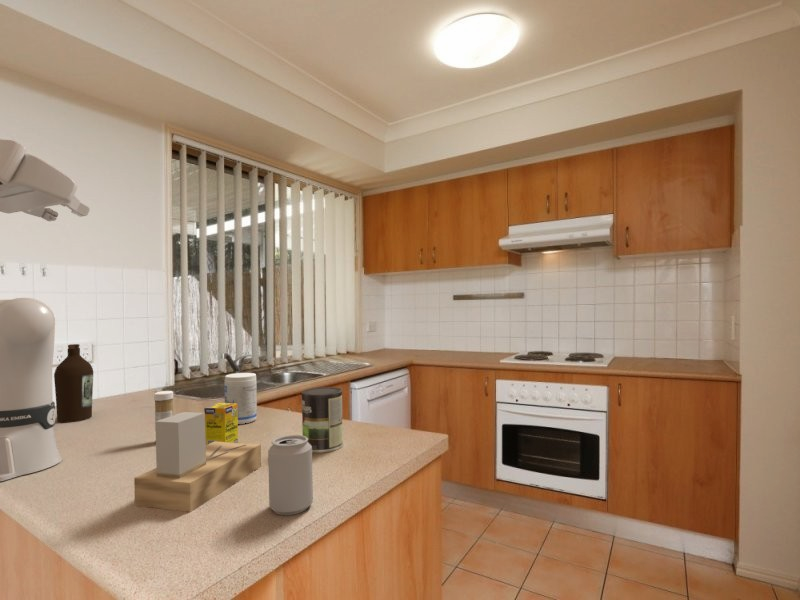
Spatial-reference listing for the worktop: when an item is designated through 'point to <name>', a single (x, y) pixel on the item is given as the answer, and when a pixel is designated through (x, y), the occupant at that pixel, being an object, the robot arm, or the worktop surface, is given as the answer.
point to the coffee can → (322, 418)
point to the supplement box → (221, 423)
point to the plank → (199, 478)
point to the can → (290, 474)
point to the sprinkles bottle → (163, 405)
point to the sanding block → (180, 444)
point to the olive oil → (73, 387)
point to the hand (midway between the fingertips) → (70, 215)
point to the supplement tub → (242, 395)
